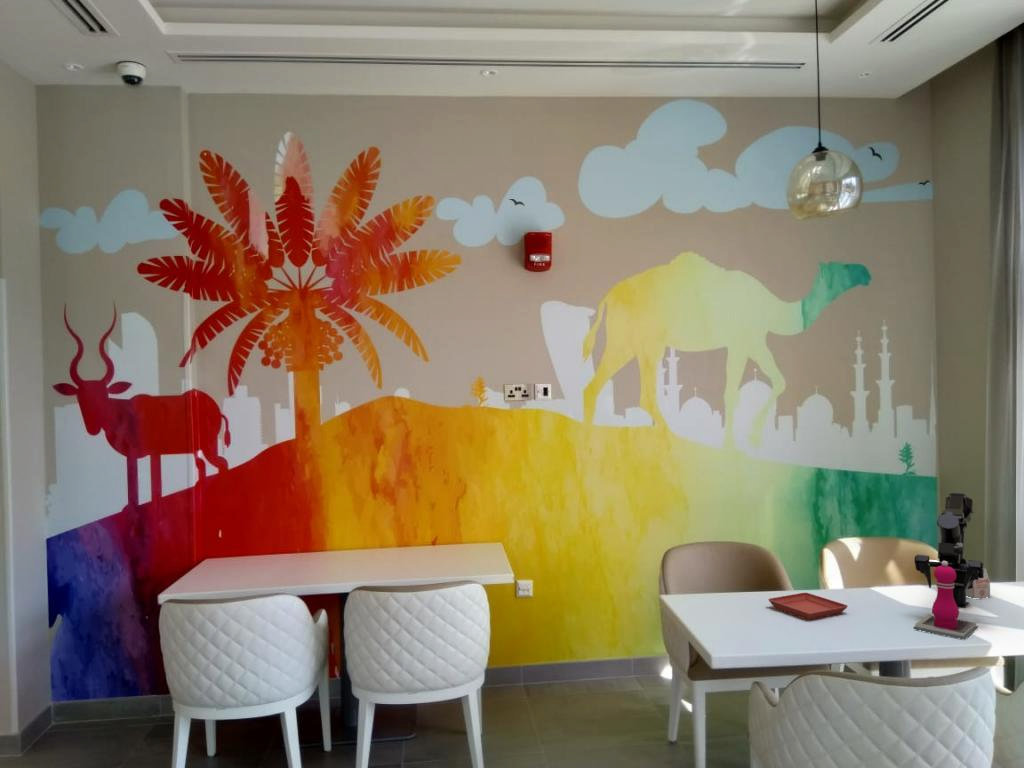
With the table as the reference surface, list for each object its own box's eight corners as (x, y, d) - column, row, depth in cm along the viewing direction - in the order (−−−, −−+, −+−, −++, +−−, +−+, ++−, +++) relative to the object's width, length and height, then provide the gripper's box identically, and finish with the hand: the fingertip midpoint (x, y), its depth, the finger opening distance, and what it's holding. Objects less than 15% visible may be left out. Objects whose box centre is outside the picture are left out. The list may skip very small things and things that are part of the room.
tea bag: (964, 596, 271) (964, 568, 271) (981, 595, 272) (981, 567, 272) (973, 599, 268) (972, 570, 268) (990, 598, 269) (989, 569, 269)
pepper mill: (964, 628, 235) (964, 562, 235) (947, 631, 232) (946, 564, 232) (943, 621, 241) (942, 557, 241) (926, 624, 239) (925, 559, 239)
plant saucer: (849, 615, 253) (849, 604, 253) (809, 623, 245) (809, 612, 245) (805, 601, 269) (805, 591, 269) (766, 608, 261) (766, 599, 261)
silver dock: (927, 619, 246) (927, 613, 246) (977, 628, 237) (977, 622, 237) (913, 629, 236) (913, 623, 236) (965, 640, 226) (965, 633, 226)
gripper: (914, 529, 249) (910, 571, 240) (982, 535, 238) (980, 579, 229) (918, 549, 255) (914, 590, 246) (985, 555, 245) (982, 599, 236)
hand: (946, 589), depth 239 cm, fingers open, 9 cm apart
